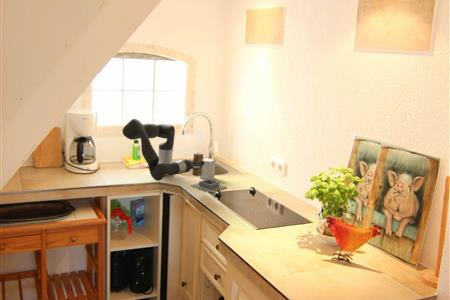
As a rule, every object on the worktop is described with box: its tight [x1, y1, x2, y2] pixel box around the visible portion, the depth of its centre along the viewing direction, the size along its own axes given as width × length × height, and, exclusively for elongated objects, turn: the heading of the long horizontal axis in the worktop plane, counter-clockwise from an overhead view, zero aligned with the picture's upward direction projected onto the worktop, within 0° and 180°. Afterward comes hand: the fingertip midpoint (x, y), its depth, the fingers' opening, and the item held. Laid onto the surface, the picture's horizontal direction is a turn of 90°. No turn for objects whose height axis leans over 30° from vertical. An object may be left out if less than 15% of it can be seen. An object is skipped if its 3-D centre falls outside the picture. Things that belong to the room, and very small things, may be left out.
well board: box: [190, 179, 228, 193], centre depth 293 cm, size 16×16×3 cm
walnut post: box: [191, 152, 204, 177], centre depth 281 cm, size 4×4×13 cm
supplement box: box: [199, 157, 216, 180], centre depth 311 cm, size 7×7×13 cm
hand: (201, 162), depth 283 cm, fingers closed on walnut post, 4 cm apart
